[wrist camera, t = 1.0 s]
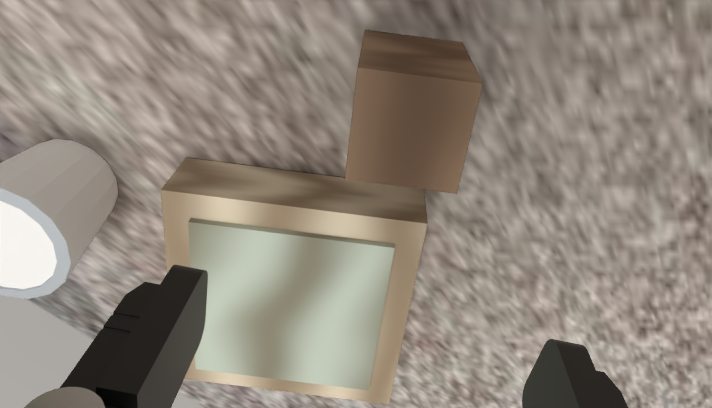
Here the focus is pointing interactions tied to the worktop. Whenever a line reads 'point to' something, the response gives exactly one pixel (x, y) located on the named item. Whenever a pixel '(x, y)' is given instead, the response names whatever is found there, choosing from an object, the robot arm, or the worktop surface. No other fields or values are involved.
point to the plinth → (296, 275)
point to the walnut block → (412, 112)
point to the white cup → (50, 214)
